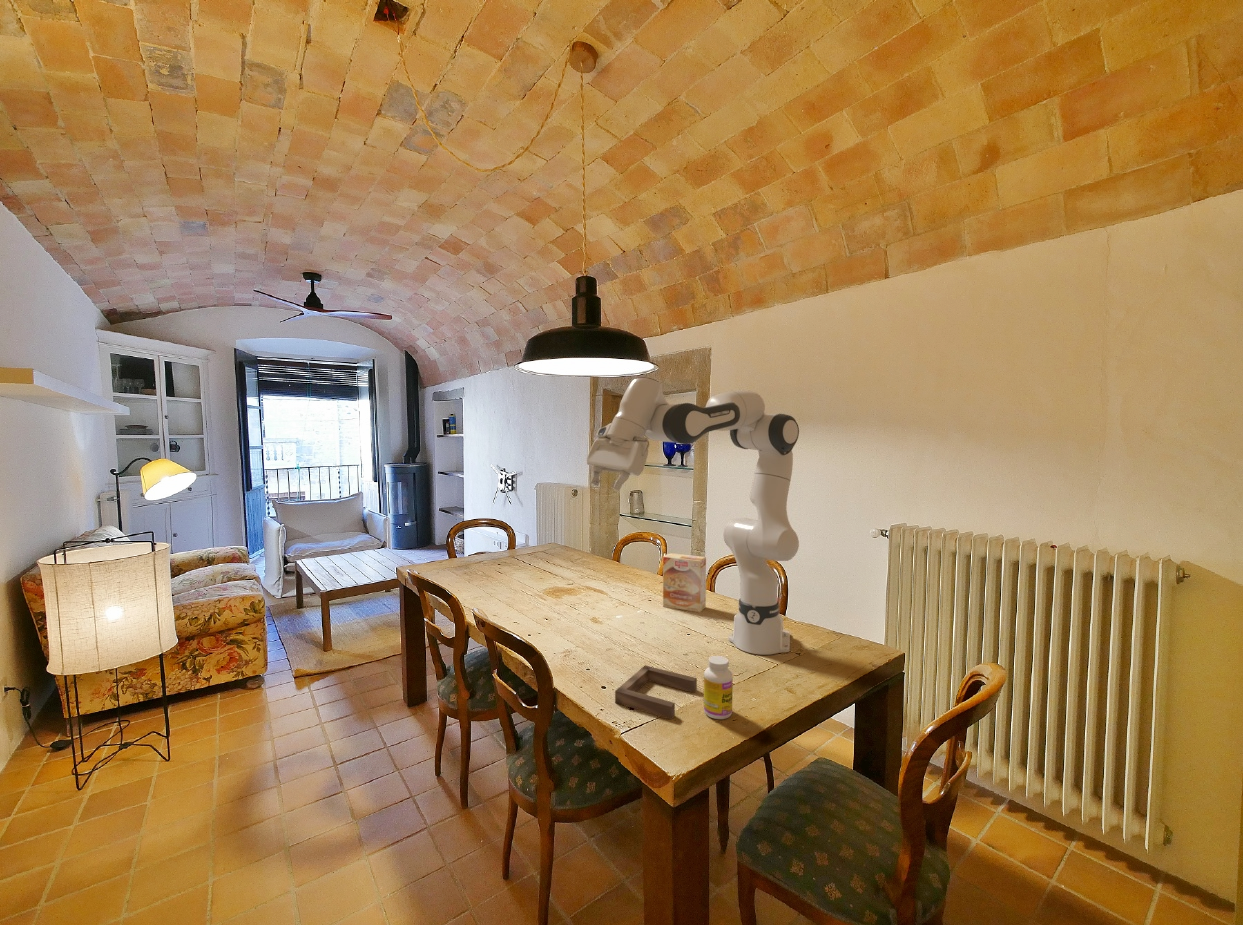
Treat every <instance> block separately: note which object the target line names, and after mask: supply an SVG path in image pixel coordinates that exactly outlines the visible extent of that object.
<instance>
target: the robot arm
mask: <svg viewBox="0 0 1243 925" xmlns="http://www.w3.org/2000/svg"><path fill="white" fill-rule="evenodd" d="M765 407H766V406H765V401H764V399H763V398H762V396H761V395H760V394H759V393H758V392H756V391H750V390H731V391H725V392H721V393H718V394H715V395H712V396H711V397H709V399H708V400H707V402H706V405H705V407H701V406H699V405H696V404H694V403H689V402H684V403H678V404H677V403H675V404H674V403H673V404H669V402H668V401H667V399H666V398H665V395H664V393H663V384H662V383H661V382H660V381H658V380H656V379H654V378H652V377H651V378H650V377H645V376H644V377H642V376H641V377H636V378H634V379H633V380H631V381H630V383H629V384H628V387H627V388H626V390H625V392H624V394H623V396H622V398H621V400H620V403H619V408H618V412H617V413H616V414H615V416H614V417H613V418H612V422H611V423H608V424H607V425H605V426H603V427H601V428H600V427H599V428H598V430H597V431H596V434H595V436H596V437H597V438H596V439H595V440H594V441H593V443H592V445H591V447H590V450H589V451H588V455H587V457H586V465H588V466H590V467H591V468H592V469H591V479H590V481H589V483H590V484H591V485H592V486H596V487H598V486H599V485H600V482H601V479H600V476H601V474H602V473H603V471H607V472H613V473H618V475H619V476H617V478H616V479H615V480H613V481H612V483H611V485H610V488H611V489H612V490H614V491H617V492H619V491H621V489H622V486H623V485H624V483H626V482H627V481H628V479H629V478H630V475H631V476H635V477H636V476H638V477H639V476H640V475H641V474H642V473H643V471H644V469H645V465H646V462H647V460H648V455H649V448H650V441H655V442H663V443H674V444H675V443H677V444H681V445H690V444H691V445H692V444H693V443H695V442H696V441H698V440H699V439H700V438H701V437H703V436H704V435H705V434H707V433H710V432H712V431H721V432H722V431H729V437H730V439H731V442H732V444H733V445H734V446H735V447H737V448H739V449H743V450H755V451H757V452H758V459H757V461H756V462H757V463H756V465H755V469H754V474H753V479H752V484H751V488H750V493H749V499H750V502H751V504H752V505H753V506H755V507H756V511H757V515H758V516H757V520H756V519H752V518H747V517H741V518H734V519H730V520H729V521H728V522H727V523H726V525H725V526H724V528H723V541H724V543H725V545H726V546H727V547H728V548H729V550H730V551H731V552H732V554H733V556H734V559H735V562H736V565H737V568H738V573H739V581H740V582H739V585H740V592H739V593H740V598H739V599H738V613H736V614H735V615H734V617H733V630H732V632H733V633H732V634H730V635H729V636H728V641H729V642H730V643H733V645H734V646H735V647H736V648H737V649H739V650H741V651H743V652H745V653H749V654H755V655H766V656H767V655H774V654H779V653H789V652H790V650H791V633H790V631H789V630H786V629H784V618H783V617H782V616H781V614H780V604H779V602H780V598H779V597H778V577H777V575H776V573H775V572H774V570H773V569H771V567H770V565H769V563H768V562H767V560H769V561H772V562H773V561H774V562H789V561H791V560H792V559H794V557H795V556H796V555H797V553H798V550H799V547H800V541H799V537H798V534H797V532H796V531H795V530H794V528H793V527H792V526H791V524H790V521H789V517H788V511H787V510H788V509H787V508H788V507H787V505H788V504H787V502H788V498H789V496H788V495H789V491H790V485H791V480H792V474H793V465H794V464H793V462H794V458H793V457H794V454H793V448H794V447H795V445H796V443H797V441H798V439H799V434H800V427H799V424H798V422H797V421H796V419H795V418H794V417H793V416H792V415H789V414H785V413H778V414H776V413H765ZM649 440H650V441H649Z"/></svg>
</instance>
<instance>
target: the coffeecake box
mask: <svg viewBox="0 0 1243 925" xmlns="http://www.w3.org/2000/svg"><path fill="white" fill-rule="evenodd" d="M662 558H663V560H662V561H663V564H662V565H663V566H662V568H663V569H662V571H663V572H662V579H663V580H662V582H663V583H662V607H664V608H669V609H675V610H681V611H690V612H695V613H701V612H702V611H703V610H704V609H705V608H706V602H707V601H706V600H707V597H706V594H707V592H706V591H707V557H706V556H700V555H699V556H698V555H692V554H691V555H690V554H682V553H675V552H674V553H672V552H670V553H667V554H665V555H663V557H662Z"/></svg>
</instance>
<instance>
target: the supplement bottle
mask: <svg viewBox="0 0 1243 925" xmlns="http://www.w3.org/2000/svg"><path fill="white" fill-rule="evenodd" d="M729 663H730V661H729V659H728V658H727V657H725V656H721V655H713V656H709V657H708V664H707V665H708V667H707V668H706V669H705V670H704V672H703V712H704V714H705V715H706V716H708V717H709V718H712V719H714V720H727V719H728V718H730V717H731V715H732V714H733V691H734V690H733V686H734V685H733V684H734V682H733V680H734V678H733V677H734V676H733V673H732V671H731V670H730V669H729V667H730V666H729V665H730V664H729Z"/></svg>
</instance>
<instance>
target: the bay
mask: <svg viewBox="0 0 1243 925" xmlns="http://www.w3.org/2000/svg"><path fill="white" fill-rule="evenodd" d="M697 679H698V678H697V677H694V676H690V675H685V674H681V673H677V672H674V671H669V670H666V669H661V668H657V667H654V666H649V665H646V664H645V665H643V666H642V667H641V668H640V669H639V670H638V671H637V672H635V673H634V674H633V675H632V676H630V677H629V678H628V679H627V680H626V681H625V682H624V683H623V684H622V685H620V686H619V687H618V688H617V689H615V690H614V696H615V697H614V698H615V699H614V702H615V704H618V705H622V706H626V707H628V708H632V709H634V710H639V711H642V712H645V713H649V714H652V715H655V716H658V717H662V718H664V719H668V720H672V719H673V718H674V717H675V715H676V714H675V712H676V711H675V708H676V704H675V702H673V701H670V700H666V699H662V698H658V697H655V696H651V695H647V694H646V693H645V694H644V693H641V692H638V691H639V690H640V689H641V688H642V687H644V685H645V684H646V683H648V682H651V683H655V684H659V685H663V686H667V687H671V688H675V689H678V690H683V691H686V692H688V693H689V692H690V693H695V692H696V691H697V689H698V688H697V687H698V680H697Z"/></svg>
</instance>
